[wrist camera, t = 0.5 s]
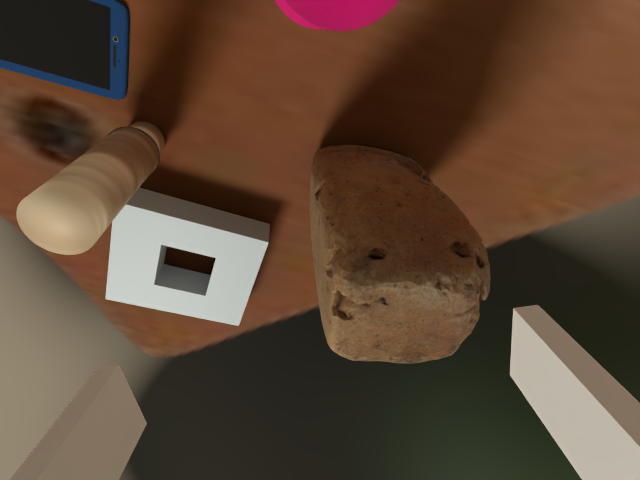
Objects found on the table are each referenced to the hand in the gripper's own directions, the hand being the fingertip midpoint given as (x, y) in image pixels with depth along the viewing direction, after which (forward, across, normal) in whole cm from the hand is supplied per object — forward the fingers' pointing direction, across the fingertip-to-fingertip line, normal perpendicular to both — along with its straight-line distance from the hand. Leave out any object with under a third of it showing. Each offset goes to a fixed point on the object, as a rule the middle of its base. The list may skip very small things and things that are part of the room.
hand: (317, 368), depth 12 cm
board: (+27, -14, -5) cm, 31 cm away
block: (+26, +5, 0) cm, 27 cm away
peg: (+24, -14, +7) cm, 29 cm away
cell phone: (+23, -19, +16) cm, 34 cm away
